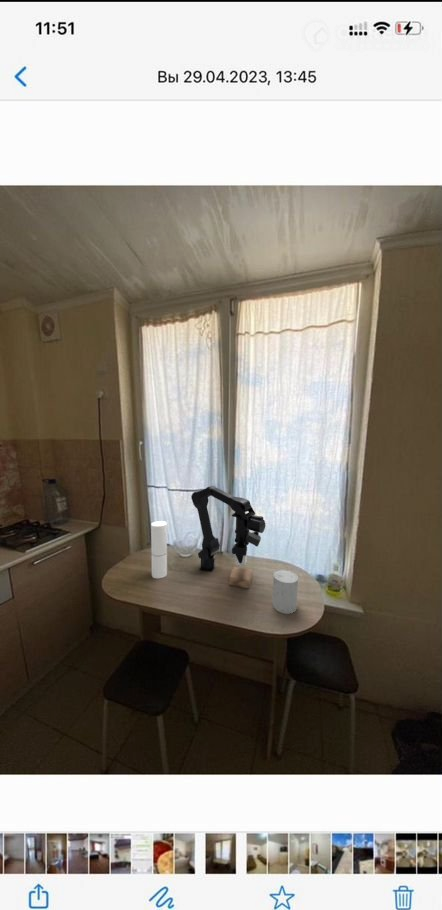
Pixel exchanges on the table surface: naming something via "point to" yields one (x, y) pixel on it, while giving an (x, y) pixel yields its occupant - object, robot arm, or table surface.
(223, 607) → the table surface
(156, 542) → the cylindrical container
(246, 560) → the grey cube
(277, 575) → the white cylinder
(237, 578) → the tan block
